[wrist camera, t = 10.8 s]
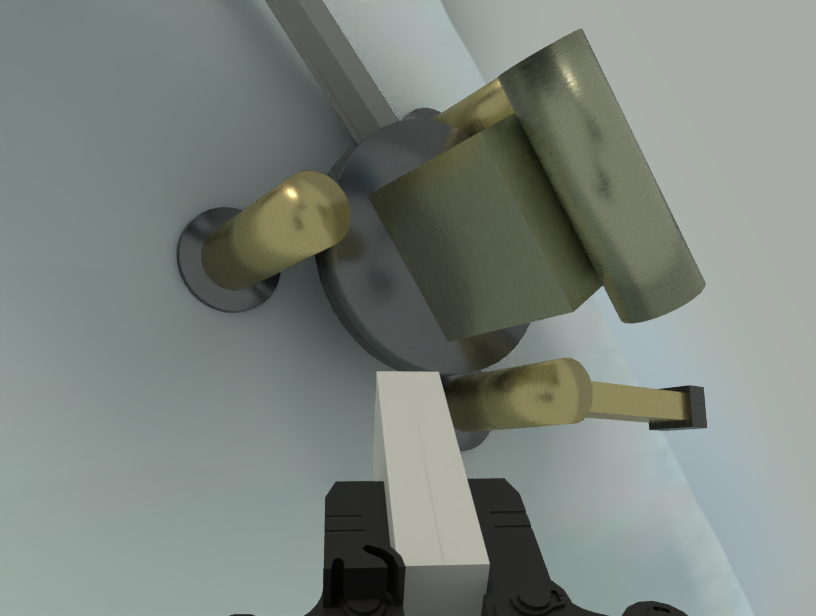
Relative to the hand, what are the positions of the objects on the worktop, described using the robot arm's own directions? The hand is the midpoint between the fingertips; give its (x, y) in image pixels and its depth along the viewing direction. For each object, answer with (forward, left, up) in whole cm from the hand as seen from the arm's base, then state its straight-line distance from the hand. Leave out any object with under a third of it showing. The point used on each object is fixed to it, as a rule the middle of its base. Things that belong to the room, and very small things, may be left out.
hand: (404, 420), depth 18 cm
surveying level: (+1, +15, -19) cm, 24 cm away
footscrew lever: (+11, +20, -18) cm, 29 cm away
